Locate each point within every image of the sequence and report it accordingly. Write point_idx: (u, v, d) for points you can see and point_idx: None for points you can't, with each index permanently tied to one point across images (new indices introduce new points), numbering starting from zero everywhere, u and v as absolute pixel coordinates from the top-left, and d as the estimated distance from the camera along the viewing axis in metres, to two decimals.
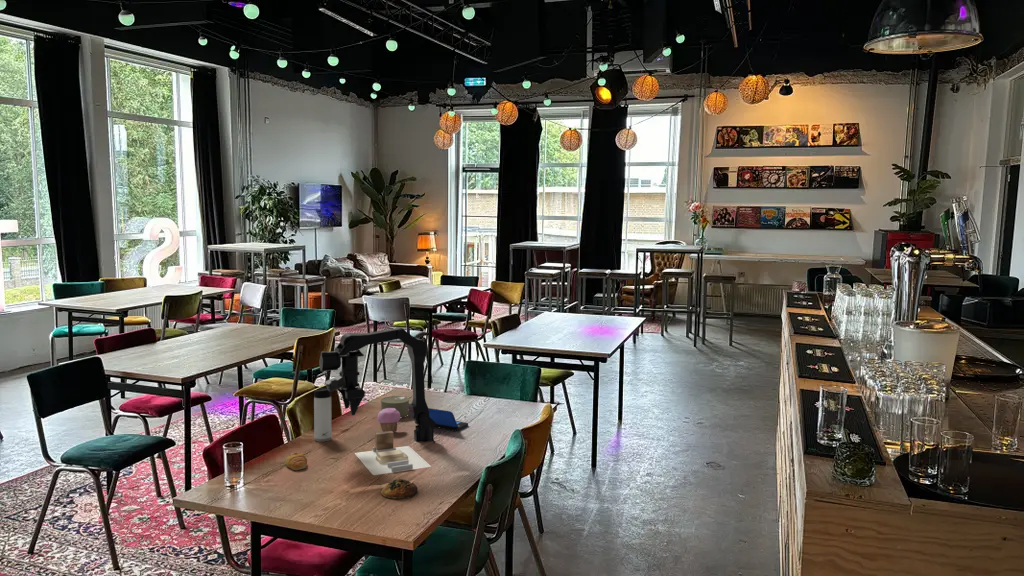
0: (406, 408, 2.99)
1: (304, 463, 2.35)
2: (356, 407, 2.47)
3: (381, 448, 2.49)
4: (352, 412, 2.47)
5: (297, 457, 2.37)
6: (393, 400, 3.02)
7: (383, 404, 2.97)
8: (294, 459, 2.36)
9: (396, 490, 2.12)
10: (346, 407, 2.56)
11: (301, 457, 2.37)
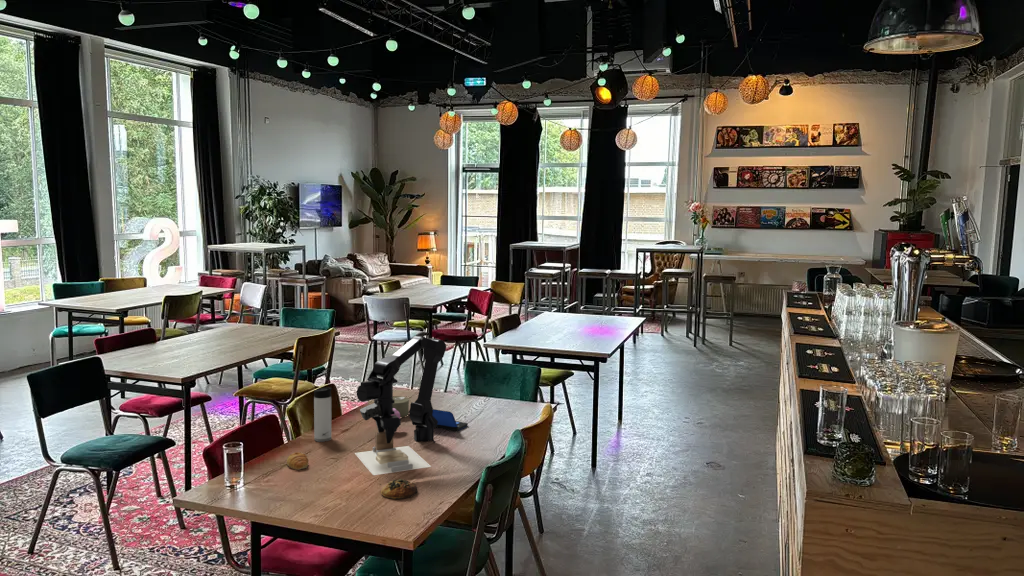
0: (406, 408, 2.99)
1: (306, 463, 2.35)
2: (392, 435, 2.46)
3: (381, 448, 2.49)
4: (387, 440, 2.46)
5: (298, 457, 2.37)
6: None
7: None
8: (295, 459, 2.36)
9: (396, 490, 2.12)
10: None
11: (302, 457, 2.38)
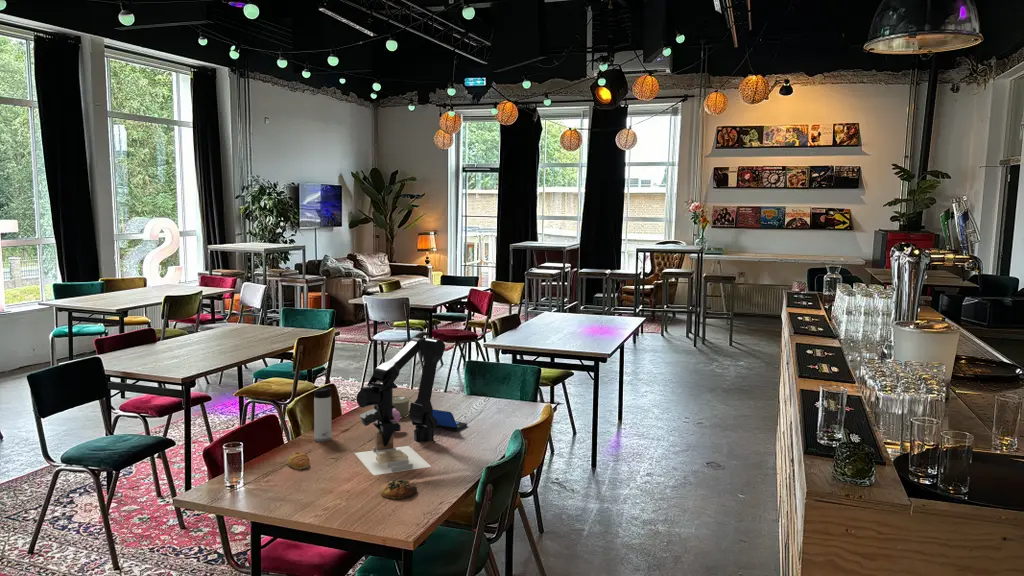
0: (406, 408, 2.99)
1: (307, 462, 2.36)
2: (389, 438, 2.49)
3: (381, 448, 2.49)
4: (384, 443, 2.49)
5: (299, 456, 2.38)
6: (393, 400, 3.02)
7: None
8: (297, 458, 2.36)
9: (395, 490, 2.11)
10: None
11: (303, 456, 2.38)
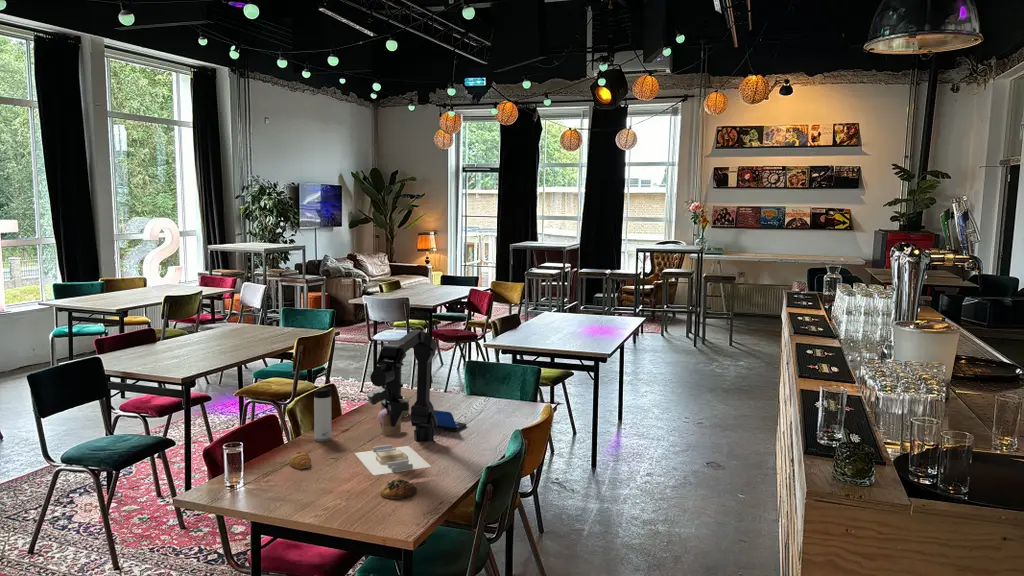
0: None
1: (309, 462, 2.36)
2: (397, 419, 2.39)
3: (388, 430, 2.39)
4: (392, 423, 2.39)
5: (301, 456, 2.38)
6: None
7: None
8: (298, 458, 2.37)
9: (395, 490, 2.11)
10: None
11: (305, 456, 2.38)
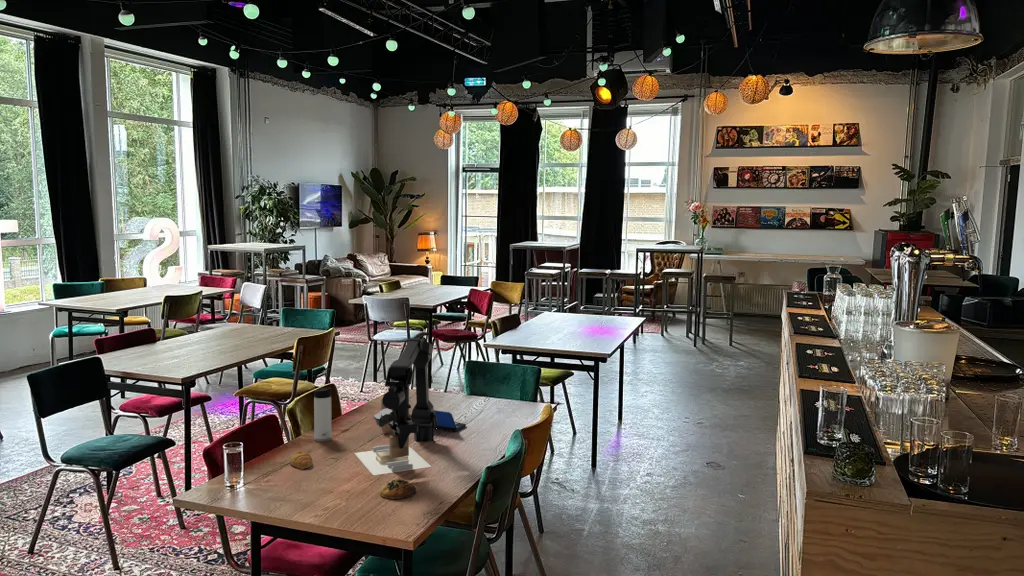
0: None
1: (310, 461, 2.37)
2: (405, 440, 2.32)
3: (396, 452, 2.33)
4: (400, 445, 2.32)
5: (302, 456, 2.38)
6: None
7: None
8: (300, 458, 2.37)
9: (394, 490, 2.11)
10: None
11: (306, 456, 2.39)
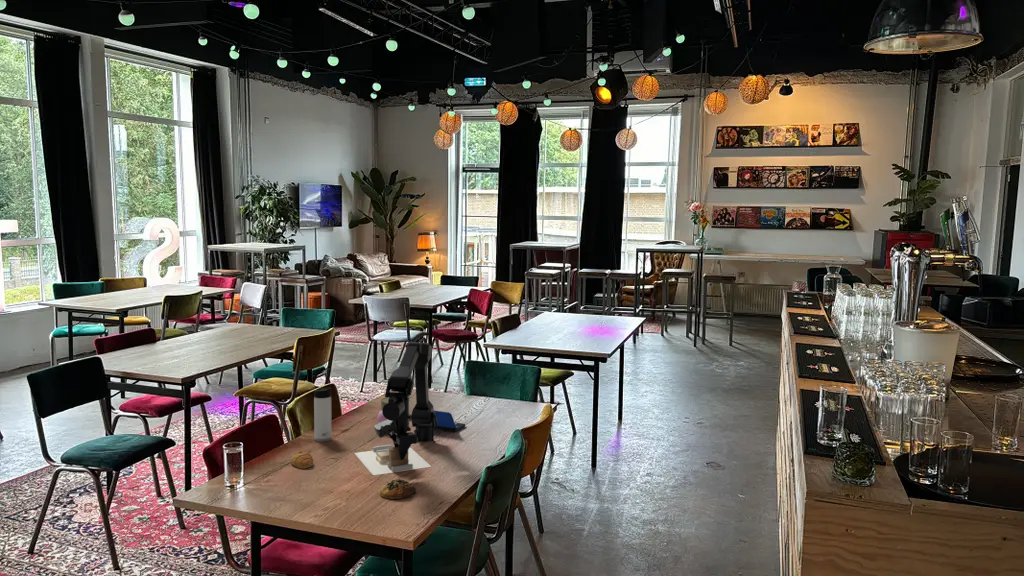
0: None
1: (311, 461, 2.37)
2: (406, 451, 2.32)
3: (395, 464, 2.33)
4: (401, 457, 2.32)
5: (303, 455, 2.39)
6: None
7: (383, 404, 2.97)
8: (300, 457, 2.38)
9: (394, 490, 2.11)
10: None
11: (307, 455, 2.39)
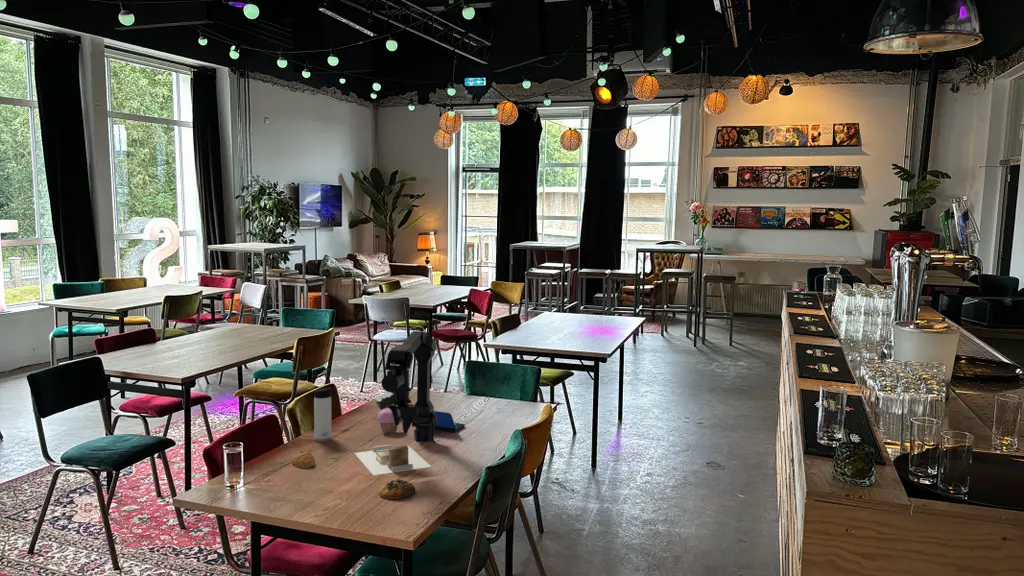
0: None
1: (313, 461, 2.37)
2: (409, 425, 2.35)
3: (395, 464, 2.33)
4: (404, 430, 2.35)
5: (305, 455, 2.39)
6: None
7: None
8: (302, 457, 2.38)
9: (393, 490, 2.11)
10: (396, 424, 2.43)
11: (309, 455, 2.40)
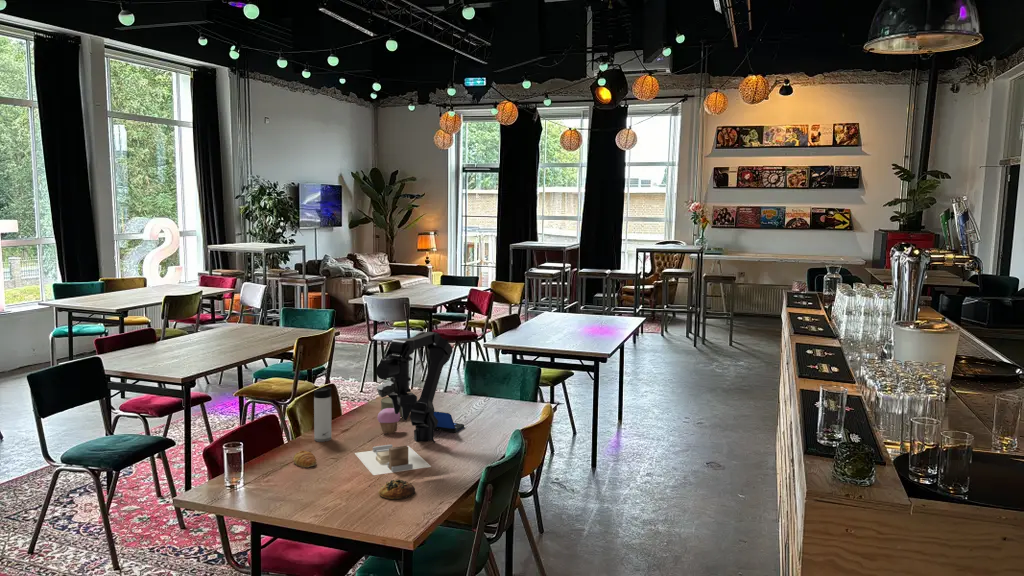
0: None
1: (314, 460, 2.38)
2: (408, 413, 2.47)
3: (395, 464, 2.33)
4: (404, 417, 2.47)
5: (306, 455, 2.39)
6: None
7: (383, 404, 2.97)
8: (303, 457, 2.38)
9: (393, 490, 2.11)
10: (396, 412, 2.56)
11: (310, 455, 2.40)
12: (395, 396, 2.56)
